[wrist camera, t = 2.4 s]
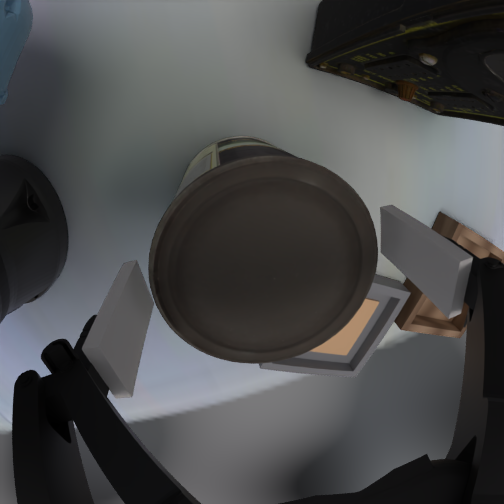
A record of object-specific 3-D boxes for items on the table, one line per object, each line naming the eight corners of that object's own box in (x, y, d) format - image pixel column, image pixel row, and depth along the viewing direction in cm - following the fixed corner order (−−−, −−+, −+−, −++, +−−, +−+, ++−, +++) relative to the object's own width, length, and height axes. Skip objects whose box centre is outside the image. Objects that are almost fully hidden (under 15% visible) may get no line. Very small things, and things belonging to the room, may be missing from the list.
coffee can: (273, 116, 23) (346, 118, 10) (313, 223, 27) (390, 314, 15) (158, 167, 24) (102, 226, 11) (210, 267, 28) (215, 387, 15)
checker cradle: (256, 352, 33) (260, 368, 31) (303, 253, 29) (311, 265, 26) (348, 363, 37) (355, 377, 34) (400, 281, 32) (411, 292, 30)
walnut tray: (387, 312, 34) (400, 329, 30) (439, 211, 29) (459, 222, 26) (447, 323, 37) (460, 338, 34) (491, 244, 32) (508, 254, 29)
